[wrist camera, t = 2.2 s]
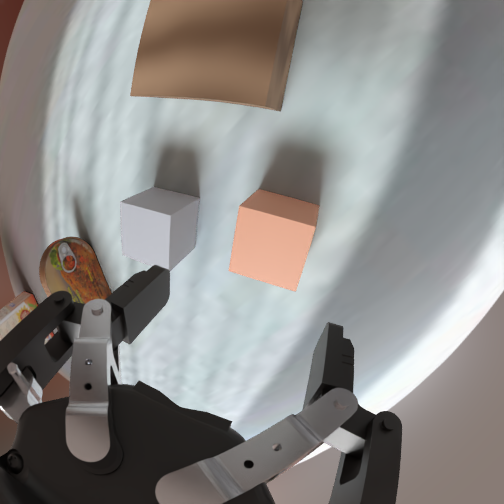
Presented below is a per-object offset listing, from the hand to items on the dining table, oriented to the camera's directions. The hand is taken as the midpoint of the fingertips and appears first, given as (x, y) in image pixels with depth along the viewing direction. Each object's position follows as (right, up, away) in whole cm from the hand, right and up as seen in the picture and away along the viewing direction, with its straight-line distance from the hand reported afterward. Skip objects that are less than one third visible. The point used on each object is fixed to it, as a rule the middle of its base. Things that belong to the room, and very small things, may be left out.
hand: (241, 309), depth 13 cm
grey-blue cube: (-7, +6, +12) cm, 15 cm away
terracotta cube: (+3, +5, +10) cm, 11 cm away
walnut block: (-1, +19, +4) cm, 19 cm away
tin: (-20, -1, +20) cm, 29 cm away
